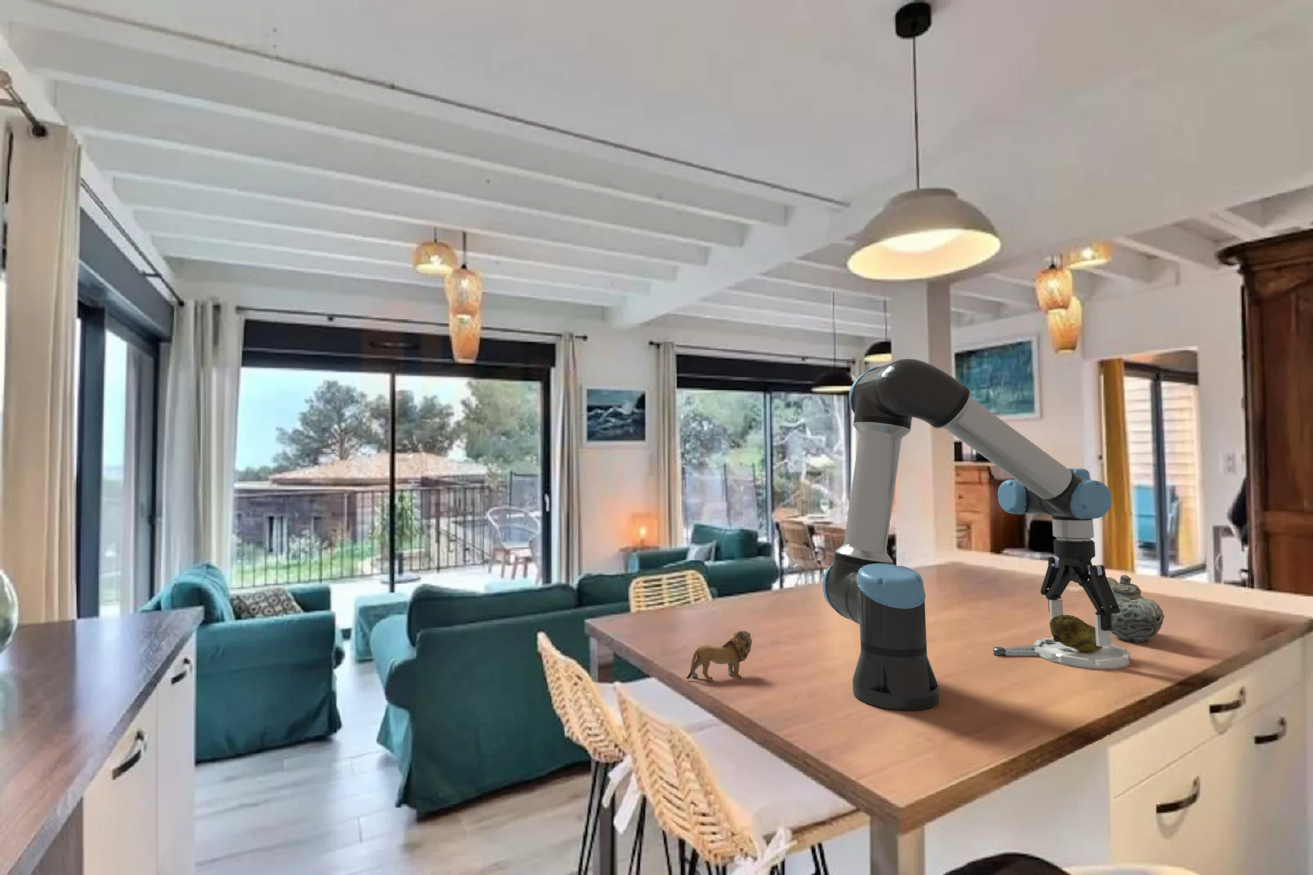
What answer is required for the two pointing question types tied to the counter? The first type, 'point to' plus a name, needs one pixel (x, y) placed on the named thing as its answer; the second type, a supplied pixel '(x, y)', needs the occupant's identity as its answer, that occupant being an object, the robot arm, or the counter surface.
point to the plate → (1083, 655)
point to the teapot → (1134, 612)
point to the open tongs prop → (1019, 651)
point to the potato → (1074, 633)
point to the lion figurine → (723, 655)
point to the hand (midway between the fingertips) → (1079, 637)
